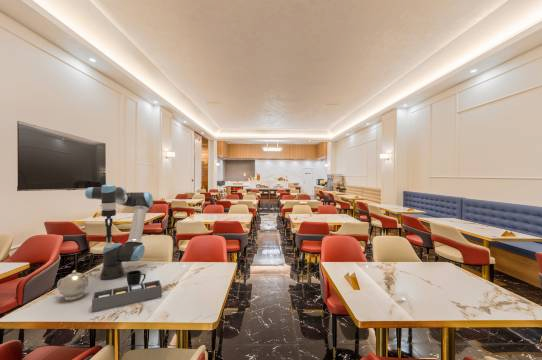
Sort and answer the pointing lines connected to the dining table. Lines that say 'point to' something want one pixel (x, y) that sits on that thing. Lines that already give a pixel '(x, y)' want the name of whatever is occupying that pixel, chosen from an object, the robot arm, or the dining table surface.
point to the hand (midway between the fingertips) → (108, 247)
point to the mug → (134, 277)
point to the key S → (136, 287)
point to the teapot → (73, 286)
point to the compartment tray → (125, 296)
